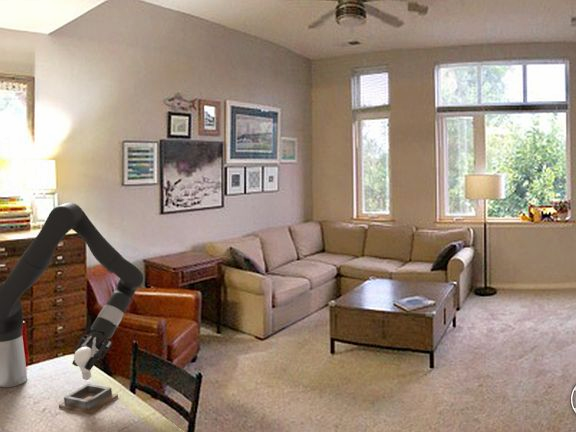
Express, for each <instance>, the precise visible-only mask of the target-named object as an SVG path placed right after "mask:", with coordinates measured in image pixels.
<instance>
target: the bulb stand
mask: <svg viewBox="0 0 576 432" xmlns="http://www.w3.org/2000/svg"><path fill="white" fill-rule="evenodd" d="M118 398H119V395H118V394H116V393H113V391H112V388H111V387H107V386H103V385H96V384H93V383H92V384H91V383H87V384H85V385H83V386H81V387H80V388H78V389H77V390H75V391H73V392H71V393H69V394H68V395H66V396H64V397H63V402H61V403H60V404H58V409H62V410H67V411H73V412H77V413H80V414H81V413H82V414H86V415H90V416H92V415H93V414H95V413H96V412H98V411H99V410H101V409H103V408H105V407H106V406H107V405H108V404H110V403H112V402H115V400H116V399H118Z"/></svg>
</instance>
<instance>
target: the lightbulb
mask: <svg viewBox="0 0 576 432" xmlns="http://www.w3.org/2000/svg"><path fill="white" fill-rule="evenodd" d="M91 355H92V349H91V348H89V347H82V346H80V348H79V349H78V350H77V351H76V350H75V352H74V355H73V360H74V361H75V363H76V364H77V365H78V366H77V367H79V369H80V372H81V377H82V379H83V380H85V381H87V380H89V379H91V378H92V372H91V370H92V369H91V370H87V369H85V365H86V363H87V362H88V360H89V359H90V357H91Z"/></svg>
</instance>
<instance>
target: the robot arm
mask: <svg viewBox="0 0 576 432" xmlns="http://www.w3.org/2000/svg"><path fill="white" fill-rule="evenodd" d="M71 230H72V231H74V232H75V233H76V234H77V235H79V237H81V238H82V240H83V241H84V242H85V244H86V245H87V247H88V249H89V251H90V252H91V254H92V256H93V257H94V259H96V261H97V262H98V263H99V264H100V265H101V266H102V267H104V268H105V270H106V271H107V272H109V273H112V274H114V275H116V276H117V277H118V278H119V280H118V282H117V285H116V286H115V288H114V290H113V292H112V293H111V295H110V296H109V297H108V300H107V301H106V303H105V304H104V306H103V307H102V309H100V312H99V313H98V315H97V317H96V318H95V320H94V321H93V323H92V325H91V327H90V330H91V331H90V333H89V334H85V333H83V334H82V335H81V337H80V338H79V340H78V343H77V345H76V346H75V349H74V350H75V352H76V351H77V350H78V349H79V348H81V347H89V348H91V349H92V355H91V357H90V359H89V360H88V362H87V363H86V365H85V369H87V370H92V368H93V367H94V366H95V364H96V362H97V361H98V360H103V359H104V358H105V356H106V355H107V353H108V352H109V350H110V349H111V347H112V346H113V342H112V341H111V340H108V339H111V338H112V337H113V336H114V333H115V331H116V330H117V328H118V327H119V325H120V323H121V321H122V320H123V317H124V314H125V312H126V311H127V310H128V307H129V305H130V303H131V299H132V298H133V296H134V294H135V292H136V291H137V290H138V288H139V287H141V286H142V284H143V283H144V274H143V272H142V271H141V270H140V269H139V268H138V267H137V266H136V265H135V264H133V263H131V262H130V261H128V260H127V259H126V258H125V257H123V256H122V254H121V253H120V252H118V250H116V248H115V247H113V245H112V244H111V243H110V242H109V241H107V239H106V238H105V237H104V236H103V235H102V234H101V233H100V231H99V230H98V229H97V228H96V226H95V225H94V223H93V222H92V221H91V220H90V218H89V217H88V215H86V213H85V211H84V210H83V209H82V208H81V207H80V206H79V204H76V203H74V202H66V203H62V204H59V205H58V206H57V205H56V206H55V207H54V208H53V209H51V211H50V212H49V214H48V216H47V218H46V220H45V222H44V223H43V225H42V227H41V229H40V231H39V232H38V234H37V235H36V237H35V238H34V239H33V240H32V242H30V244H29V245H28V246H27V248H26V250H25V251H24V252H23V253H22V255H21V257H20V258H19V259H18V261H17V262H16V264H15V266H14V267H13V268H12V270H11V271H10V273H9V275H8V276H7V277H6V279H5V281H4V282H3V283H2V285H1V286H0V388H12V387H17V386H20V385H22V384H24V383H26V381H27V380H28V374H27V365H26V356H25V355H26V354H25V348H24V347H25V346H24V340H23V327H24V316H23V315H24V314H23V305H22V301H21V299H20V298H21V296H22V295H23V294H24V293H25V292H26V291H27V290H28V289H30V288H31V287H32V286H33V285H34V284H35V283H36V282H38V280H39V279H40V278H41V277H42V276H43V274H44V273H45V272H46V270H47V269H48V267H49V266H50V264H51V263H52V260H53V257H54V255H55V251H56V248H57V246H58V245H59V244H60V242H61V241H62V240H63V238H64V237H65V236H66V235H67V234H68V233H69V232H70V231H71ZM71 364H72V365H74V366H75V367H79V366H78V365H77V364H76V363H75V361H74V359H73V360H72V362H71Z"/></svg>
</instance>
